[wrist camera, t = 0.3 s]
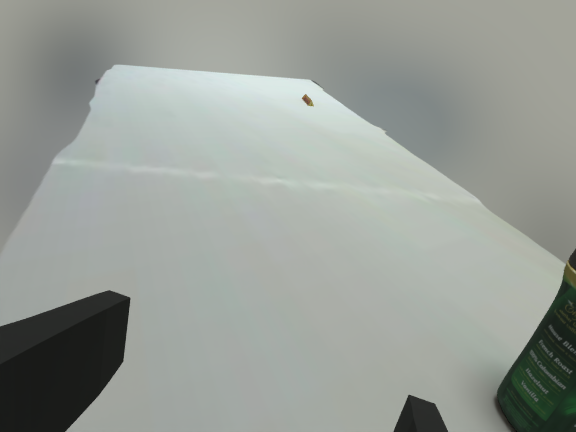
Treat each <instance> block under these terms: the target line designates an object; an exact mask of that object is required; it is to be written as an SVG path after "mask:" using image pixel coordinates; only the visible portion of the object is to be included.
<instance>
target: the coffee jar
mask: <svg viewBox="0 0 576 432" xmlns="http://www.w3.org/2000/svg"><path fill="white" fill-rule="evenodd" d="M497 397H498V401H499V403H500V406H501V408H502V410H503V412H504V414H505V415H506V417H507V419H508V421H509V422H510V423H511V425H512V426H513V427H514V428H515V430H516V431H517V432H576V249H575V251H574V252H573V253H572V255H571V256H570V258H569V260H568V261H567V263H566V266H565V269H564V275H563V280H562V284H561V286H560V289H559V291H558V293H557V295H556V297H555V299H554V301H553V303H552V305H551V306H550V308H549V310H548V311H547V313H546V315H545V316H544V318H543V319H542V321H541V323H540V324H539V326H538V327H537V329H536V331H535V332H534V334H533V336H532V337H531V339H530V340H529V342H528V343H527V345H526V346H525V348H524V349H523V351H522V352H521V354H520V355H519V357H518V358H517V360H516V361H515V362H514V364H513V365H512V367H511V369H510V370H509V372H508V373H507V375H506V376H505V378H504V380H503V381H502V383H501V385H500V387H499V388H498V391H497Z"/></svg>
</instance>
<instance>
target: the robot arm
mask: <svg viewBox="0 0 576 432" xmlns="http://www.w3.org/2000/svg"><path fill="white" fill-rule="evenodd" d="M129 306H130V297H127V296H124V295H121V294H118V293H116V292H113V291H110V290H109V291H105V292H102V293H99V294H95V295H93V296H90V297H87V298H84V299H81V300H78V301H75V302H72V303H70V304H67V305H64V306H61V307H58V308H55V309H52V310H50V311H47V312H44V313H41V314H38V315H35V316H32V317H29V318H26V319H23V320H20V321H17V322H13V323H10V324H7V325H4V326H0V432H65V431H66V430H67V429H68V428H69V427H70V426H71V425H72V424H73V423H74V422H75V421H76V420H77V419H78V417H79V416H80V415H81V414H82V413H83V412H84V411H85V410H86V409H87V408H88V407H89V406H90V404H91V403H92V402H93V401H94V400H95V399H96V398H97V397H98V396H99V394H100V393H101V392H102V390H103V389H104V388H105V386H106V385H107V384H108V382H109V381H110V380H111V378H112V377H113V375H114V374H115V373H116V371H117V370H118V368H119V367H120V365H121V364H122V363H123V359H124V350H125V341H126V333H127V324H128V315H129ZM394 432H448V430H447V428H446V426H445V424H444V422H443V420H442V417H441V415H440V413H439V411H438V409H437V407H436V405H435V404H434V403H431V402H428V401H425V400H423V399H420V398H417V397H414V396H411V395H408V398H407V400H406V403H405V405H404V407H403V410H402V412H401V415H400V417H399V419H398V422H397V424H396V427H395V429H394Z"/></svg>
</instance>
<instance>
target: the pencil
mask: <svg viewBox="0 0 576 432" xmlns="http://www.w3.org/2000/svg"><path fill="white" fill-rule="evenodd" d="M302 99H303V100H304V101H305V103H306V104H307V105H308V106H313V102H312V100H311V99H310V98H309V97H308V96H307V95H306V94H305V95H304V96H303V97H302Z"/></svg>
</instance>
